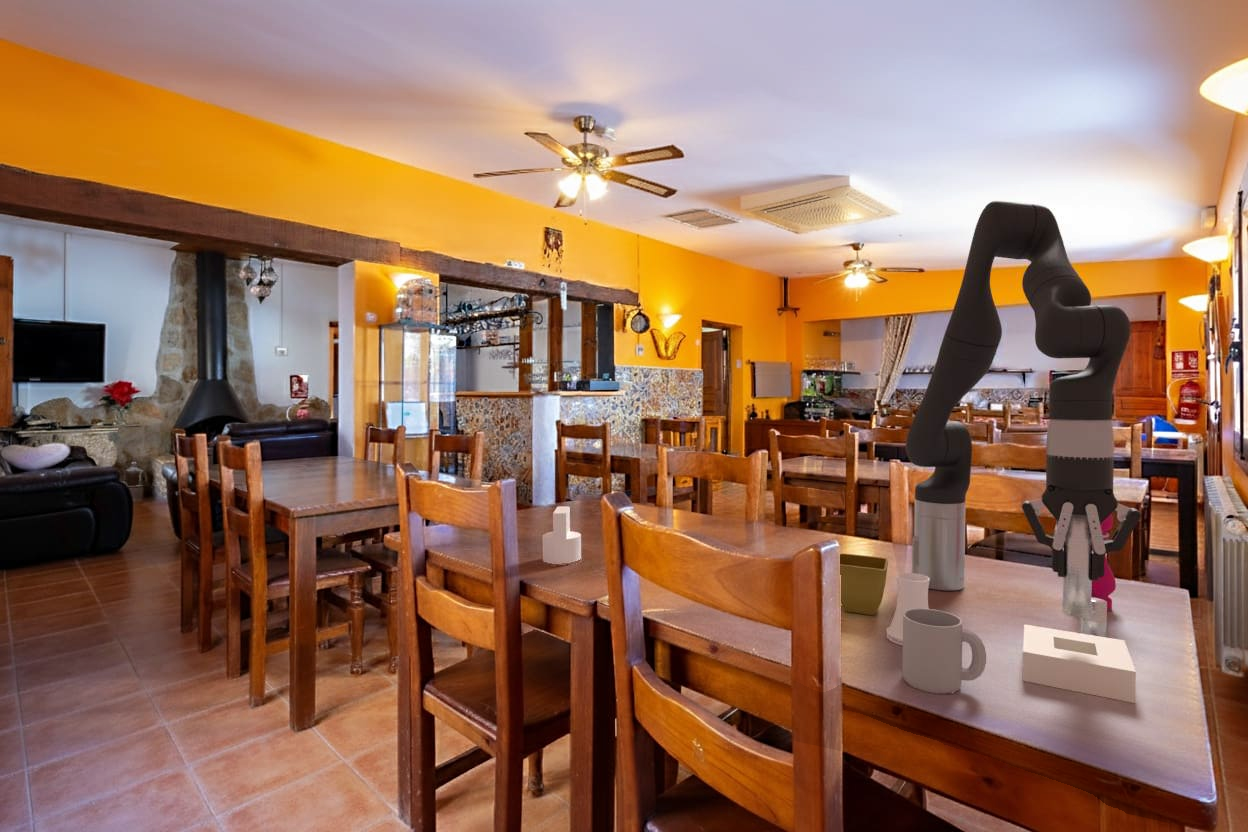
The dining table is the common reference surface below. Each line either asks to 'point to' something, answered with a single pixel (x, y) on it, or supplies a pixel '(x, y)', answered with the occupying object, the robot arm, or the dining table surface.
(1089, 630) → the short pin
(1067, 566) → the tall pin
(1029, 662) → the socket block
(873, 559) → the flower pot
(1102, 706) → the dining table surface
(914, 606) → the vase
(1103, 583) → the pepper mill
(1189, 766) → the dining table surface
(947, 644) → the cup
